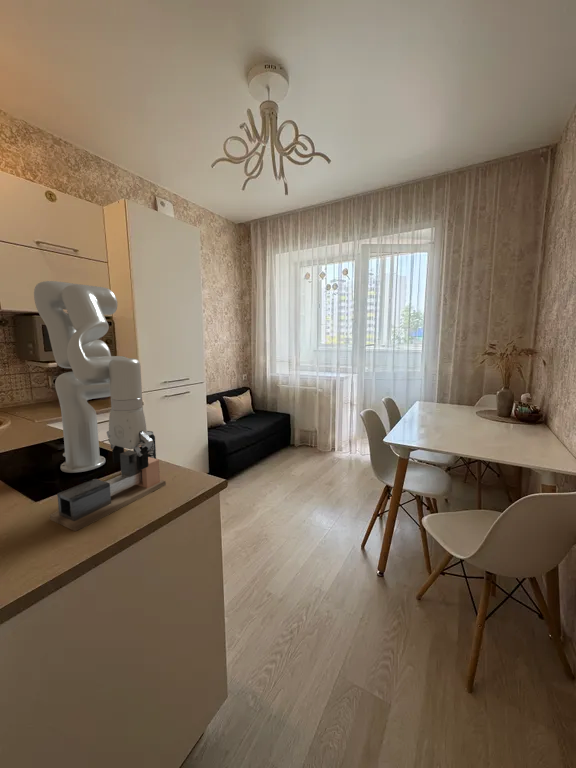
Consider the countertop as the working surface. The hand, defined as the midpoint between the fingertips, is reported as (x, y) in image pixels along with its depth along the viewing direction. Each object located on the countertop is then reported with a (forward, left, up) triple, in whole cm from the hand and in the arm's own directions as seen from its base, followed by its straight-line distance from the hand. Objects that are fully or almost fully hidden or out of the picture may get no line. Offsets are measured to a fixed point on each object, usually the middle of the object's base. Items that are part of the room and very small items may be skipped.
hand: (130, 464), depth 88 cm
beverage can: (-10, +13, -8) cm, 18 cm away
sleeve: (0, -13, -7) cm, 14 cm away
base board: (0, -6, -8) cm, 10 cm away
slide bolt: (0, -3, -5) cm, 6 cm away
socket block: (0, +4, -7) cm, 8 cm away
